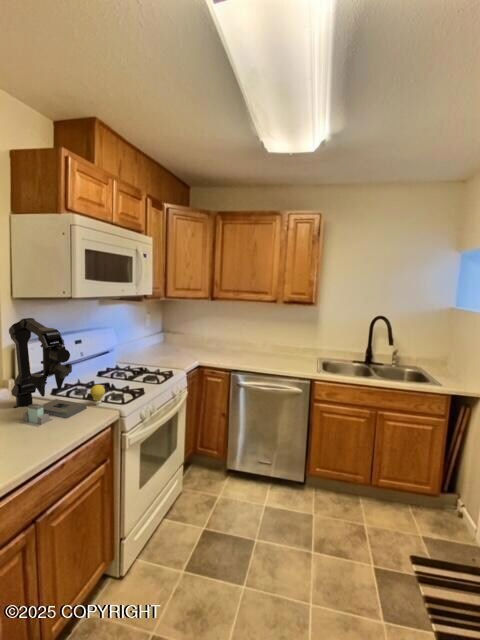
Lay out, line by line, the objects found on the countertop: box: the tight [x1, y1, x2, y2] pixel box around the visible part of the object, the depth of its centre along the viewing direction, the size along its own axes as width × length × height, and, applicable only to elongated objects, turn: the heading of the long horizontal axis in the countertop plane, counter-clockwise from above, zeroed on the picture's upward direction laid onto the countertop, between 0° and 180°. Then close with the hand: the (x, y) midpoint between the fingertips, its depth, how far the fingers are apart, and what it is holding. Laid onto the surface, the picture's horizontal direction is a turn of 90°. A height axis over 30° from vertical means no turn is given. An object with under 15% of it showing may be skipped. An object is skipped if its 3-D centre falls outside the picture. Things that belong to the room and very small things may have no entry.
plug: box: [27, 403, 43, 423], centre depth 152 cm, size 5×3×7 cm, turn 73°
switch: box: [42, 398, 88, 419], centre depth 165 cm, size 18×12×3 cm, turn 73°
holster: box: [19, 412, 54, 428], centre depth 152 cm, size 10×8×4 cm
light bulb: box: [90, 384, 106, 406], centre depth 175 cm, size 7×7×10 cm
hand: (51, 393), depth 155 cm, fingers open, 9 cm apart
